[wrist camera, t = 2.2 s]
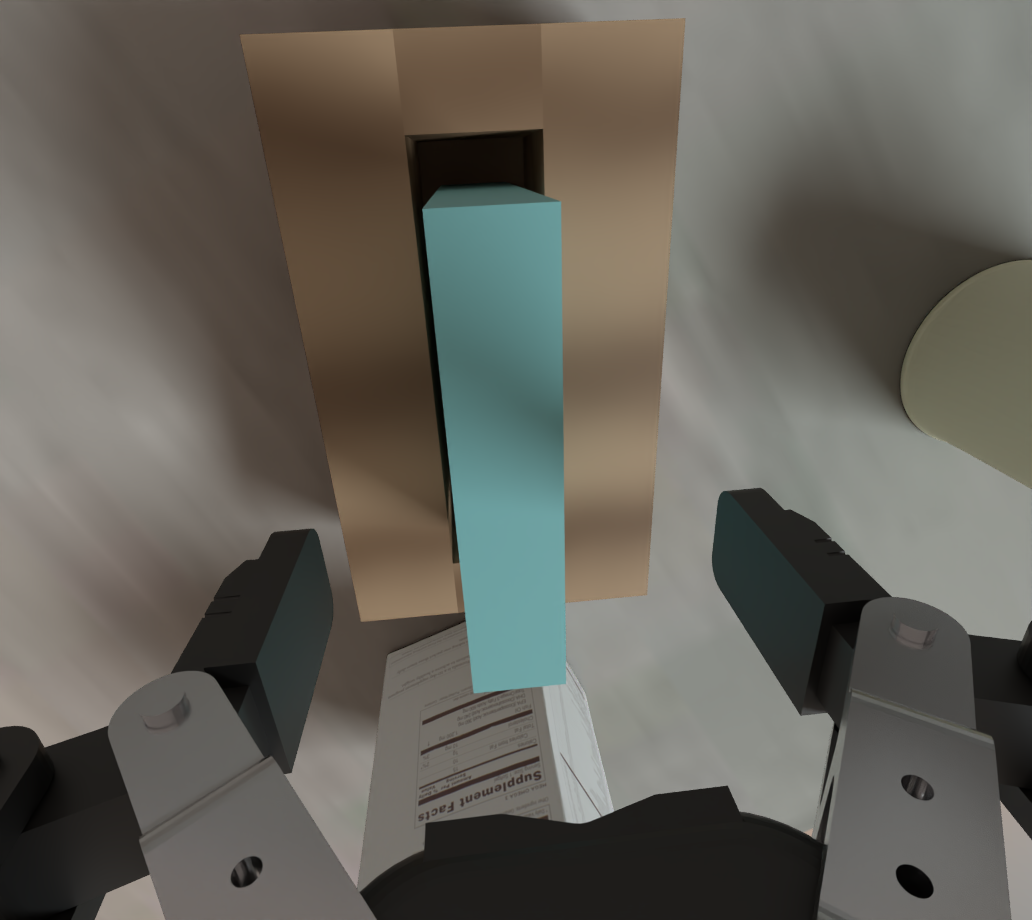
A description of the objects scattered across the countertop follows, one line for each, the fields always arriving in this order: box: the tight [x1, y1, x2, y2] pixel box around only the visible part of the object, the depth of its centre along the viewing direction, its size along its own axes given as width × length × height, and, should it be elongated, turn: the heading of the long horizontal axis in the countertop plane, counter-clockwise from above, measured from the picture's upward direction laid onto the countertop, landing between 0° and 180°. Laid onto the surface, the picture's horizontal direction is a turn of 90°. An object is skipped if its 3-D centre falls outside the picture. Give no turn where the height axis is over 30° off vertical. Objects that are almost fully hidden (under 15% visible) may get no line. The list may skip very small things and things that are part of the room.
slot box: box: [240, 18, 685, 622], centre depth 24 cm, size 20×12×7 cm, turn 3°
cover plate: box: [422, 182, 566, 693], centre depth 20 cm, size 12×2×14 cm, turn 2°
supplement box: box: [357, 622, 614, 892], centre depth 29 cm, size 10×9×17 cm
